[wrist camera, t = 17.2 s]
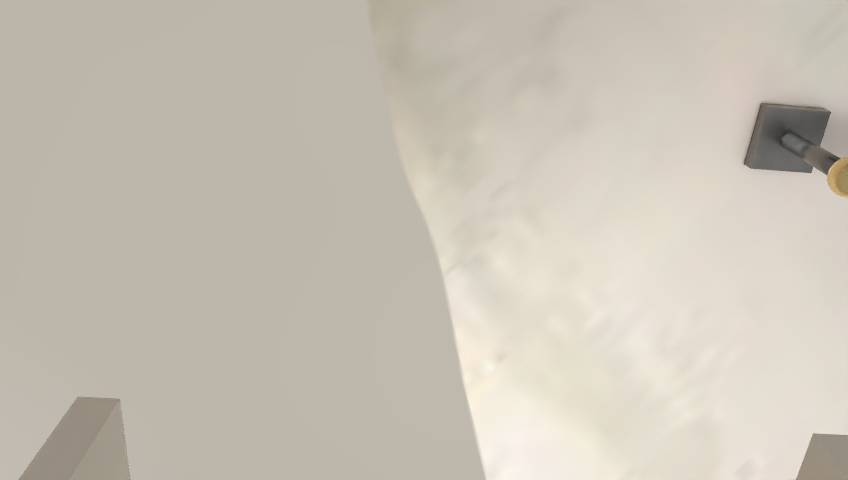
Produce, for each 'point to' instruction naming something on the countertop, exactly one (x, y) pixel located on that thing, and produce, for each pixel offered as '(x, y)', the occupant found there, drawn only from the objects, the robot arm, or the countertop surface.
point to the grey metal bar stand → (795, 144)
